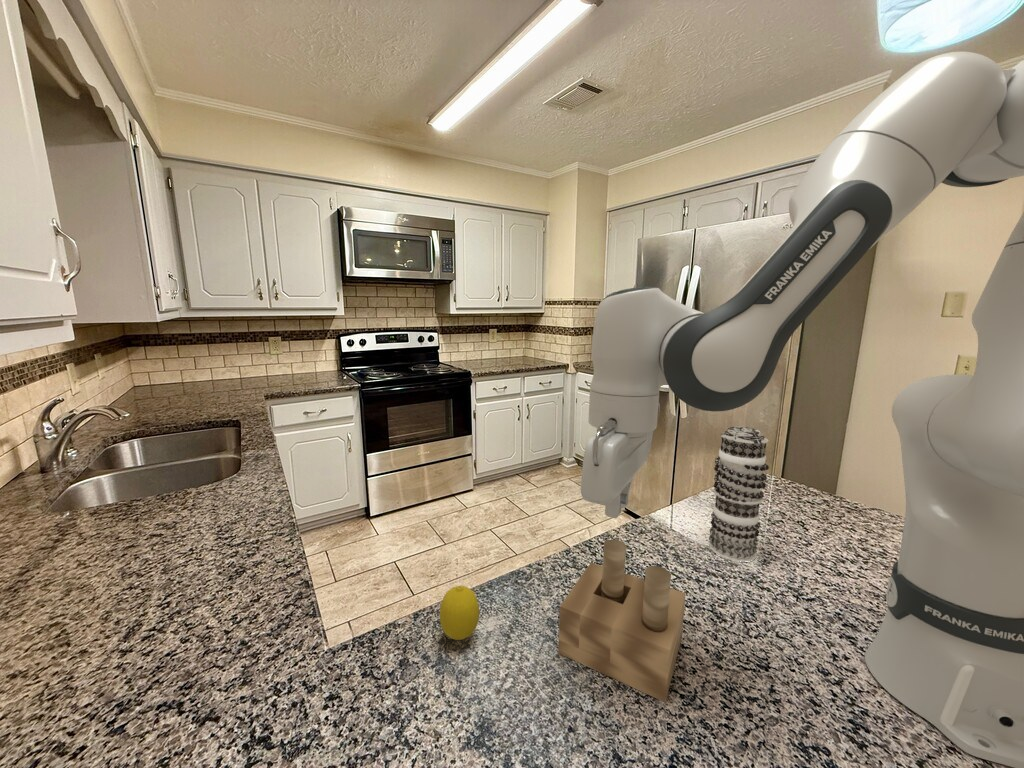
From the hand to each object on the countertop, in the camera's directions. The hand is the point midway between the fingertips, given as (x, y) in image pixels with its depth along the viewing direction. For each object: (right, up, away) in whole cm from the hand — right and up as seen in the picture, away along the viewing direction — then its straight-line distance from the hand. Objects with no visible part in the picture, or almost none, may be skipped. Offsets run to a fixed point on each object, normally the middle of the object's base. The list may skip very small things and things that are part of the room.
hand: (616, 510), depth 56 cm
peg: (0, -17, +3) cm, 17 cm away
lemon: (-22, -19, +2) cm, 29 cm away
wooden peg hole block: (+1, -19, +1) cm, 19 cm away
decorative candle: (+30, -16, +26) cm, 42 cm away
